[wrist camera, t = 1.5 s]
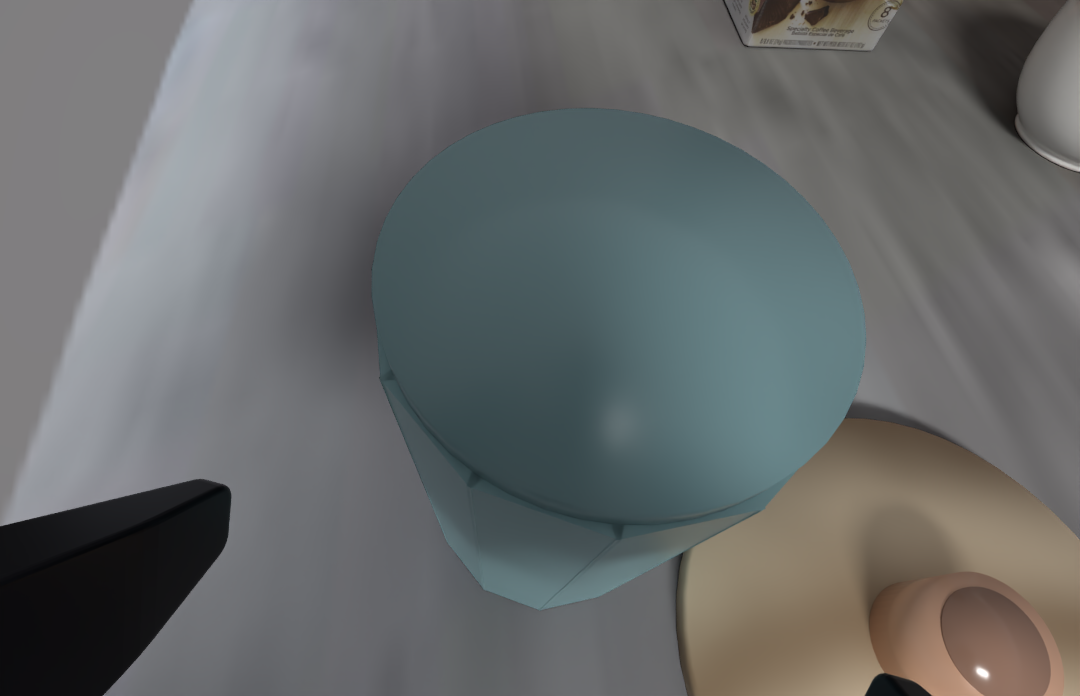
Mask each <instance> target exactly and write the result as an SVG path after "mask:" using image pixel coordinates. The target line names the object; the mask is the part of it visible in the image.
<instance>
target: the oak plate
mask: <svg viewBox="0 0 1080 696" xmlns="http://www.w3.org/2000/svg"><path fill="white" fill-rule="evenodd" d="M765 508H766V509H764V510H762V511H761V512H759V513H757V514H755V515H753V516H751V517H749V518H748V519H746V520H744V521H742V522H740V523H738V524H736V525H734V526H732V527H730V528H729V529H727V530H725V531H723V532H721V533H719V534H717V535H715V536H713V537H711V538H710V539H708V540H706V541H704V542H702V543H700V544H698V545H696V546H694V547H692V548H691V549H689V550H687V551H685V552H683V556H682V560H681V564H680V570H679V578H678V587H677V596H676V614H677V638H678V646H679V654H680V662H681V668H682V673H683V677H684V681H685V685H686V690H687V694H688V696H865V694H866V692H867V690H868V688H869V686H870V684H871V682H872V680H873V679H874V677H875V676H877V675H878V674H880V673H884V671H883V669H882V668H881V666H880V664H879V662H878V660H877V658H876V655H875V653H874V650H873V646H872V643H871V638H870V631H869V619H870V612H871V608H872V605H873V603H874V601H875V599H876V597H877V596H878V595H879V594H880V592H881V591H883V590H884V589H885V588H886V587H888V586H890V585H892V584H895V583H899V582H904V581H910V580H916V579H922V578H928V577H933V576H939V575H945V574H951V573H957V572H977V573H981V574H985V575H988V576H990V577H993V578H995V579H997V580H999V581H1001V582H1003V583H1005V584H1006V585H1008V586H1009V587H1011V588H1012V589H1014V590H1015V591H1016V592H1017V593H1019V594H1020V595H1021V596H1022V597H1023V598H1024V599H1025V600H1026V601H1028V602H1029V604H1030V605H1031V606H1032V607H1033V608H1034V609H1035V610H1036V611H1037V613H1038V614H1039V615H1040V617H1041V618H1042V619H1043V621H1044V622H1045V624H1046V625H1047V627H1048V628H1049V630H1050V632H1051V634H1052V636H1053V638H1054V640H1055V642H1056V645H1057V647H1058V650H1059V653H1060V656H1061V659H1062V664H1063V669H1064V690H1063V696H1080V540H1079V539H1078V537H1077V536H1076V535H1075V534H1074V533H1073V532H1072V531H1071V530H1070V529H1069V528H1068V527H1067V526H1066V525H1065V524H1064V523H1063V522H1062V521H1061V520H1060V519H1059V518H1058V517H1057V516H1056V515H1055V514H1054V513H1053V512H1052V511H1051V510H1050V509H1049V508H1048V507H1047V506H1045V505H1044V504H1043V503H1042V502H1041V501H1040V500H1038V499H1037V498H1036V497H1035V496H1034V495H1033V494H1031V493H1030V492H1029V491H1028V490H1027V489H1026V488H1024V487H1023V486H1022V485H1020V484H1019V483H1018V482H1016V481H1015V480H1013V479H1012V478H1011V477H1009V476H1008V475H1007V474H1005V473H1004V472H1002V471H1001V470H1000V469H998V468H997V467H995V466H993V465H992V464H990V463H988V462H987V461H985V460H983V459H982V458H980V457H978V456H977V455H975V454H973V453H972V452H970V451H968V450H966V449H964V448H962V447H960V446H958V445H956V444H953V443H951V442H949V441H947V440H945V439H943V438H940V437H937V436H935V435H932V434H929V433H927V432H924V431H921V430H919V429H915V428H911V427H908V426H904V425H900V424H896V423H892V422H885V421H878V420H871V419H853V418H844V420H843V421H842V423H841V424H840V425H839V427H838V428H837V429H836V431H835V432H834V434H833V435H832V436H831V438H830V439H829V441H828V442H827V443H826V444H825V445H824V446H823V447H822V448H821V449H820V450H819V451H818V452H817V453H816V454H815V455H814V456H813V457H812V458H811V459H810V460H809V461H808V462H806V463H805V464H804V465H803V466H802V467H800V468H799V469H798V470H797V471H796V472H795V474H794V475H793V476H792V477H791V478H790V479H789V480H788V482H787V483H786V484H785V485H784V486H783V487H782V488H781V490H780V491H779V492H778V493H777V494H776V495H775V496H774V498H773V499H772V500H771V501H770V502H769V503H768V504H767V506H766V507H765Z"/></svg>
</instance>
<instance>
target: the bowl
mask: <svg viewBox="0 0 1080 696" xmlns="http://www.w3.org/2000/svg"><path fill="white" fill-rule="evenodd" d="M869 631H870V638H871V643H872V646H873V650H874V653H875V655H876V658H877V660H878V662H879V664H880V666H881V668H882V669H883V671H884V673H888V674H891V675H895V676H899V677H902V678H906V679H909V680H912V681H914V682H916V683H918V684H919V685H920V686H921V687H923V688H924V689H925V690H926V691H927V692H929V693H930V694H931V695H932V696H1063V690H1064V669H1063V664H1062V659H1061V656H1060V653H1059V650H1058V647H1057V645H1056V642H1055V640H1054V638H1053V636H1052V634H1051V632H1050V630H1049V628H1048V627H1047V625H1046V624H1045V622H1044V621H1043V619H1042V618H1041V617H1040V615H1039V614H1038V613H1037V611H1036V610H1035V609H1034V608H1033V607H1032V606H1031V605H1030V604H1029V602H1028V601H1026V600H1025V599H1024V598H1023V597H1022V596H1021V595H1020V594H1019V593H1017V592H1016V591H1015V590H1014V589H1012V588H1011V587H1009V586H1008V585H1006V584H1005V583H1003V582H1001V581H999V580H997V579H995V578H993V577H990V576H988V575H985V574H981V573H977V572H957V573H951V574H945V575H939V576H933V577H928V578H922V579H916V580H910V581H904V582H899V583H895V584H892V585H890V586H888V587H886V588H885V589H884V590H883V591H881V592H880V594H879V595H878V596H877V597H876V599H875V601H874V603H873V605H872V608H871V612H870V619H869Z"/></svg>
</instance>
